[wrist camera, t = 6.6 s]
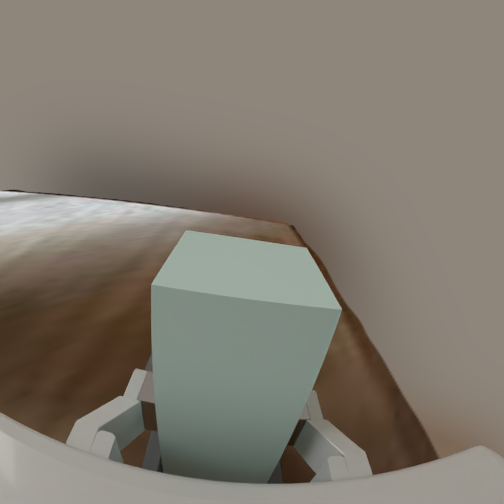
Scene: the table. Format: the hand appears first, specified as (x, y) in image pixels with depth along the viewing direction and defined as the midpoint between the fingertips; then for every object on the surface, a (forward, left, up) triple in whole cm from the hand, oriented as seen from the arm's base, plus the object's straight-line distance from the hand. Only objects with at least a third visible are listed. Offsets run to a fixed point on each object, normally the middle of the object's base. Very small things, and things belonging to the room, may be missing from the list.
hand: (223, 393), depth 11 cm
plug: (+1, 0, -8) cm, 8 cm away
